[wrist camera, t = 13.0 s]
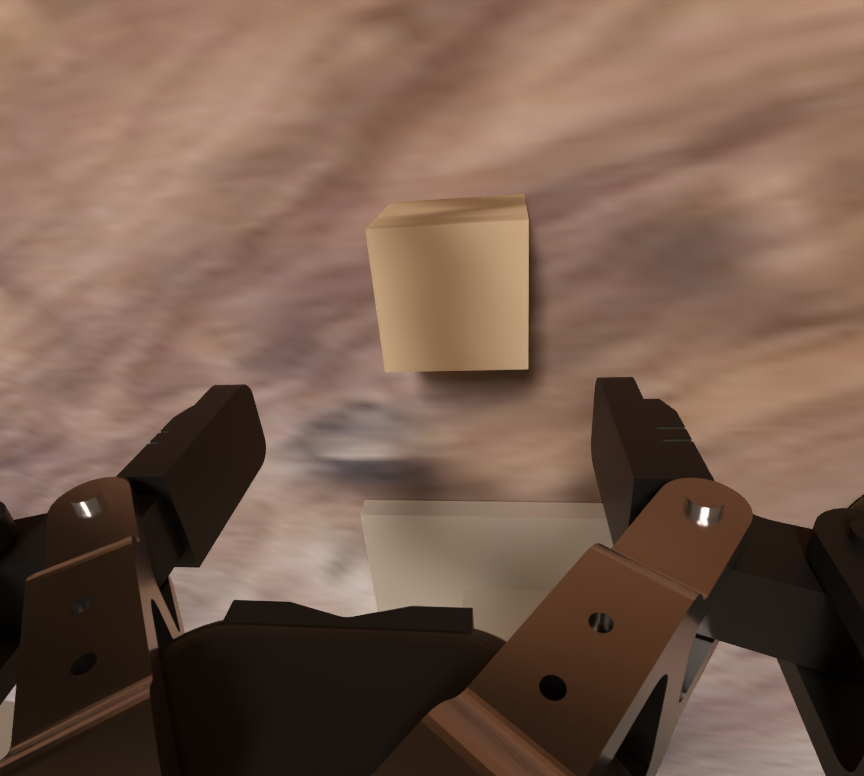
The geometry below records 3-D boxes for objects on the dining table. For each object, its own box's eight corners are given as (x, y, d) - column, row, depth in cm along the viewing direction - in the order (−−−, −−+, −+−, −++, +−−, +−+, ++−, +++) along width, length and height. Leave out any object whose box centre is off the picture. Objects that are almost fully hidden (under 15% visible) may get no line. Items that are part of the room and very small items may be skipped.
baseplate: (667, 503, 28) (673, 520, 27) (636, 692, 36) (640, 711, 35) (365, 499, 30) (360, 514, 29) (396, 678, 38) (393, 695, 37)
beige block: (560, 590, 30) (570, 671, 26) (557, 653, 33) (565, 735, 29) (463, 587, 31) (457, 665, 27) (468, 648, 34) (463, 728, 29)
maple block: (523, 193, 22) (528, 219, 17) (524, 320, 24) (528, 369, 20) (390, 202, 22) (365, 229, 18) (405, 324, 25) (385, 372, 21)
